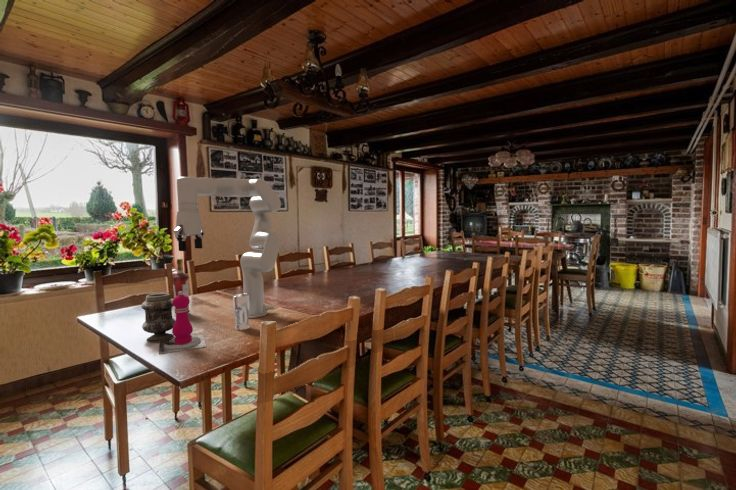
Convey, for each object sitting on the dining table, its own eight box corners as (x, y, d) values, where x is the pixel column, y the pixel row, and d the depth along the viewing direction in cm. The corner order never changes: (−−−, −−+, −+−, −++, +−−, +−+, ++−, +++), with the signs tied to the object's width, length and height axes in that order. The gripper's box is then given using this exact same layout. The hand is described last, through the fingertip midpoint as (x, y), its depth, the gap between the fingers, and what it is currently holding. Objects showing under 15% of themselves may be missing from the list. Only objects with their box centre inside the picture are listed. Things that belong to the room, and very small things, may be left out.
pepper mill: (169, 342, 151) (166, 291, 149) (187, 337, 157) (184, 288, 155) (179, 345, 147) (176, 294, 145) (197, 340, 153) (194, 290, 151)
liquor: (177, 312, 198) (174, 258, 195) (192, 312, 199) (189, 258, 196) (171, 316, 191) (168, 260, 188) (187, 316, 191) (184, 259, 189)
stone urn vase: (178, 332, 165) (175, 291, 164) (174, 340, 154) (172, 295, 153) (146, 336, 161) (143, 293, 160) (140, 344, 150) (137, 298, 149)
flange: (203, 335, 162) (203, 332, 162) (206, 347, 148) (206, 344, 148) (159, 341, 155) (159, 338, 155) (158, 354, 141) (158, 351, 141)
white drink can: (253, 326, 173) (252, 293, 172) (243, 331, 167) (242, 297, 165) (240, 325, 176) (239, 292, 174) (230, 329, 169) (229, 296, 168)
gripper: (194, 207, 167) (196, 247, 168) (165, 208, 150) (167, 252, 152) (209, 207, 165) (211, 247, 167) (181, 207, 148) (184, 252, 150)
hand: (190, 249), depth 159 cm, fingers open, 9 cm apart
